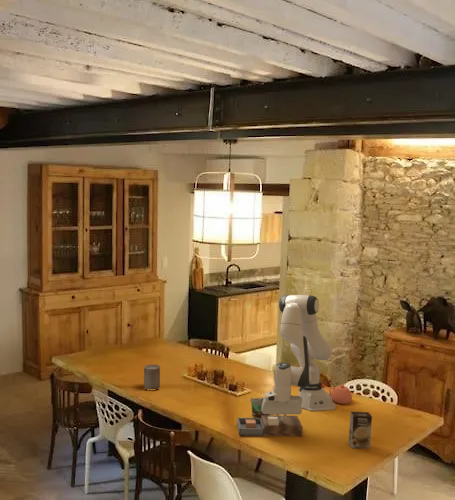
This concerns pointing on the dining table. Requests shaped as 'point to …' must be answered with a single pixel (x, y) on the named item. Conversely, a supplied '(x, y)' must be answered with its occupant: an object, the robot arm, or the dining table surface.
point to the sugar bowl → (340, 394)
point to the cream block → (273, 421)
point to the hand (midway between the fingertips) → (281, 422)
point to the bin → (250, 431)
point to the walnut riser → (283, 426)
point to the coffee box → (360, 430)
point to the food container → (257, 407)
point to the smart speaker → (152, 376)
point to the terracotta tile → (250, 423)
